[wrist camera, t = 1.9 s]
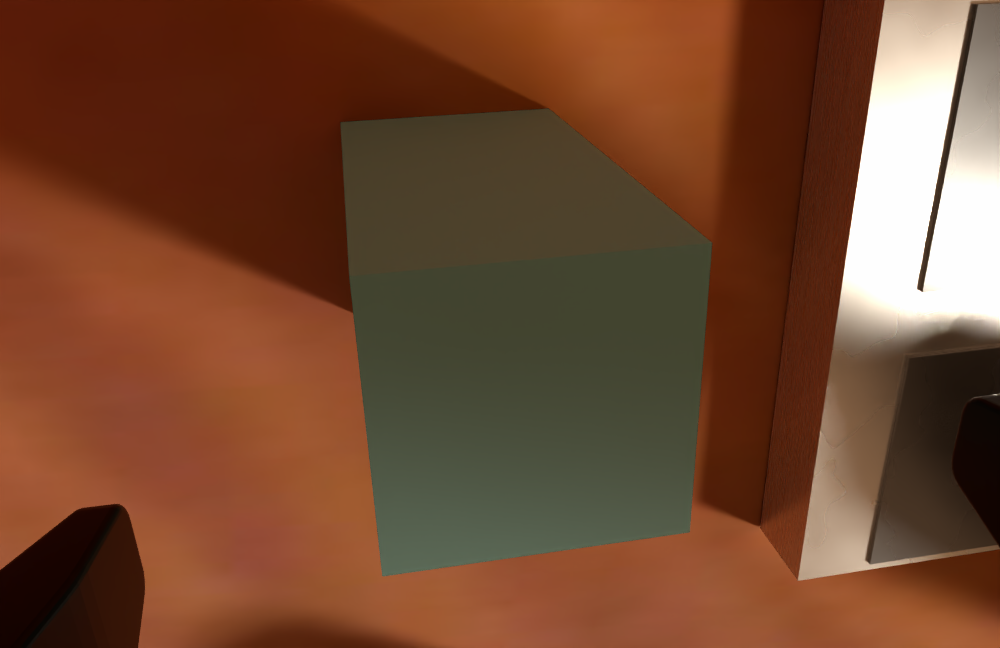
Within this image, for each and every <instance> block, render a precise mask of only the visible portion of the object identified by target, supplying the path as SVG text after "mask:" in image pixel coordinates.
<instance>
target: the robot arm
mask: <svg viewBox="0 0 1000 648" xmlns="http://www.w3.org/2000/svg"><path fill="white" fill-rule="evenodd" d="M952 471H953V475H954V478H955V480H956V482H957V484H958V485H959V487H960V488H961V490H962V491H963V493H964V494H965V496H966V498H967V499H968V501H969V502H970V504H971V505H972V507H973V508H974V510H975V511H976V513H977V514H978V516H979V517H980V519H981V520H982V522H983V523H984V525H985V526H986V528H987V529H988V531H989V532H990V534H991V535H992V537H993V538H994V540H995V541H996V543H997V544H998V546H999V548H1000V394H996V395H988V396H980V397H975V398H972V399H971V400H969V401H968V402H967V403H966V405H965V406H964V408H963V411H962V415H961V420H960V424H959V429H958V433H957V437H956V442H955V446H954V451H953V455H952ZM144 595H145V579H144V571H143V567H142V563H141V559H140V555H139V551H138V548H137V544H136V540H135V536H134V532H133V528H132V524H131V521H130V517H129V514H128V512H127V510H126V509H125V508H124V507H123V506H122V505H120V504H111V505H103V506H95V507H87V508H81V509H78V510H76V511H75V512H73V513H72V514H71V515H69V516H68V517H67V518H66V519H64V520H63V521H62V522H61V523H59V524H58V525H57V526H56V527H54V528H53V529H52V530H50V531H49V532H48V533H47V534H45V535H44V536H43V537H42V538H40V539H39V540H38V541H37V542H35V543H34V544H33V545H31V546H30V547H29V548H28V549H26V550H25V551H24V552H23V553H21V554H20V555H19V556H18V557H16V558H15V559H14V560H12V561H11V562H10V563H9V564H7V565H6V566H5V567H4V568H2V569H1V570H0V648H138V643H139V635H140V627H141V619H142V611H143V604H144Z"/></svg>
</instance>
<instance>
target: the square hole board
mask: <svg viewBox="0 0 1000 648" xmlns="http://www.w3.org/2000/svg"><path fill="white" fill-rule="evenodd" d="M996 394H1000V0H824V8H823V17H822V25H821V33H820V41H819V49H818V57H817V66H816V74H815V82H814V90H813V98H812V107H811V115H810V123H809V131H808V139H807V148H806V156H805V164H804V172H803V180H802V189H801V197H800V205H799V213H798V221H797V229H796V238H795V246H794V254H793V262H792V270H791V279H790V287H789V295H788V303H787V311H786V320H785V328H784V336H783V344H782V352H781V361H780V369H779V377H778V385H777V393H776V401H775V410H774V418H773V426H772V434H771V442H770V451H769V459H768V467H767V475H766V483H765V492H764V500H763V508H762V516H761V524H760V529H761V530H762V531H763V533H764V534H765V536H766V537H767V538H768V540H769V541H770V543H771V544H772V545H773V547H774V548H775V549H776V551H777V552H778V554H779V555H780V556H781V558H782V559H783V561H784V562H785V563H786V565H787V566H788V568H789V569H790V570H791V572H792V573H793V575H794V576H795V577H796V579H797V580H798V581H799V580H805V579H812V578H818V577H825V576H831V575H838V574H844V573H850V572H857V571H863V570H870V569H876V568H882V567H889V566H895V565H902V564H908V563H915V562H921V561H927V560H934V559H940V558H947V557H953V556H960V555H966V554H972V553H979V552H985V551H992V550H998V549H1000V548H999V546H998V544H997V543H996V541H995V540H994V538H993V537H992V535H991V534H990V532H989V531H988V529H987V528H986V526H985V525H984V523H983V522H982V520H981V519H980V517H979V516H978V514H977V513H976V511H975V510H974V508H973V507H972V505H971V504H970V502H969V501H968V499H967V498H966V496H965V494H964V493H963V491H962V490H961V488H960V487H959V485H958V484H957V482H956V480H955V478H954V475H953V471H952V455H953V451H954V446H955V442H956V437H957V433H958V429H959V424H960V420H961V415H962V411H963V408H964V406H965V405H966V403H967V402H968V401H969V400H971V399H972V398H975V397H980V396H988V395H996Z"/></svg>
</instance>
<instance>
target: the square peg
mask: <svg viewBox="0 0 1000 648" xmlns="http://www.w3.org/2000/svg"><path fill="white" fill-rule="evenodd" d="M340 124H341V141H342V159H343V176H344V194H345V211H346V229H347V246H348V264H349V279H350V288H351V297H352V306H353V315H354V324H355V333H356V342H357V351H358V360H359V369H360V378H361V387H362V396H363V405H364V414H365V423H366V432H367V441H368V450H369V459H370V468H371V477H372V487H373V496H374V505H375V514H376V523H377V532H378V541H379V550H380V559H381V568H382V576H389V575H396V574H402V573H409V572H416V571H423V570H430V569H437V568H444V567H451V566H458V565H465V564H472V563H479V562H486V561H493V560H500V559H507V558H514V557H521V556H528V555H535V554H542V553H549V552H556V551H563V550H570V549H577V548H584V547H591V546H598V545H605V544H611V543H618V542H625V541H632V540H639V539H646V538H653V537H660V536H667V535H674V534H681V533H688V532H690V521H691V508H692V495H693V483H694V470H695V457H696V444H697V432H698V419H699V406H700V394H701V381H702V368H703V355H704V343H705V330H706V317H707V305H708V292H709V279H710V266H711V254H712V242H711V241H709V240H708V239H707V238H706V237H705V236H703V235H702V234H701V233H700V232H698V231H697V230H696V229H695V228H694V227H692V226H691V225H690V224H689V223H688V222H686V221H685V220H684V219H683V218H681V217H680V216H679V215H678V214H677V213H675V212H674V211H673V210H672V209H671V208H669V207H668V206H667V205H666V204H664V203H663V202H662V201H661V200H660V199H658V198H657V197H656V196H655V195H653V194H652V193H651V192H650V191H649V190H647V189H646V188H645V187H644V186H643V185H641V184H640V183H639V182H638V181H636V180H635V179H634V178H633V177H632V176H630V175H629V174H628V173H627V172H625V171H624V170H623V169H622V168H621V167H619V166H618V165H617V164H616V163H615V162H613V161H612V160H611V159H610V158H608V157H607V156H606V155H605V154H604V153H602V152H601V151H600V150H599V149H597V148H596V147H595V146H594V145H593V144H591V143H590V142H589V141H588V140H587V139H585V138H584V137H583V136H582V135H580V134H579V133H578V132H577V131H576V130H574V129H573V128H572V127H571V126H569V125H568V124H567V123H566V122H565V121H563V120H562V119H561V118H560V117H559V116H557V115H556V114H555V113H554V112H552V111H551V110H550V109H549V108H548V109H533V110H518V111H502V112H487V113H472V114H456V115H441V116H426V117H410V118H395V119H380V120H365V121H349V122H340Z"/></svg>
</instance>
